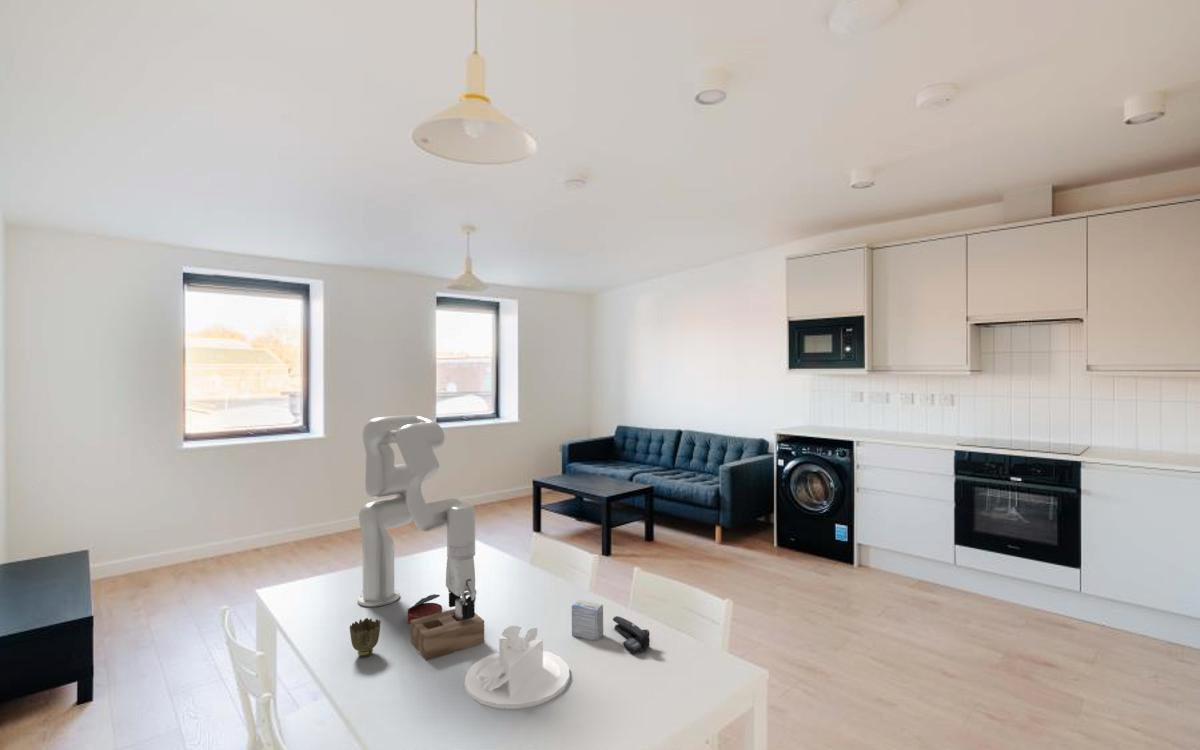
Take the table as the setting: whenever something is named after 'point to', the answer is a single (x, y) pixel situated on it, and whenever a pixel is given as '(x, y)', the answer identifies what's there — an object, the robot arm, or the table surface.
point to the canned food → (424, 608)
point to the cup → (365, 636)
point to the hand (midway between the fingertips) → (461, 611)
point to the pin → (459, 609)
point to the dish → (517, 673)
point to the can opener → (632, 635)
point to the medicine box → (587, 620)
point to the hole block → (445, 634)
